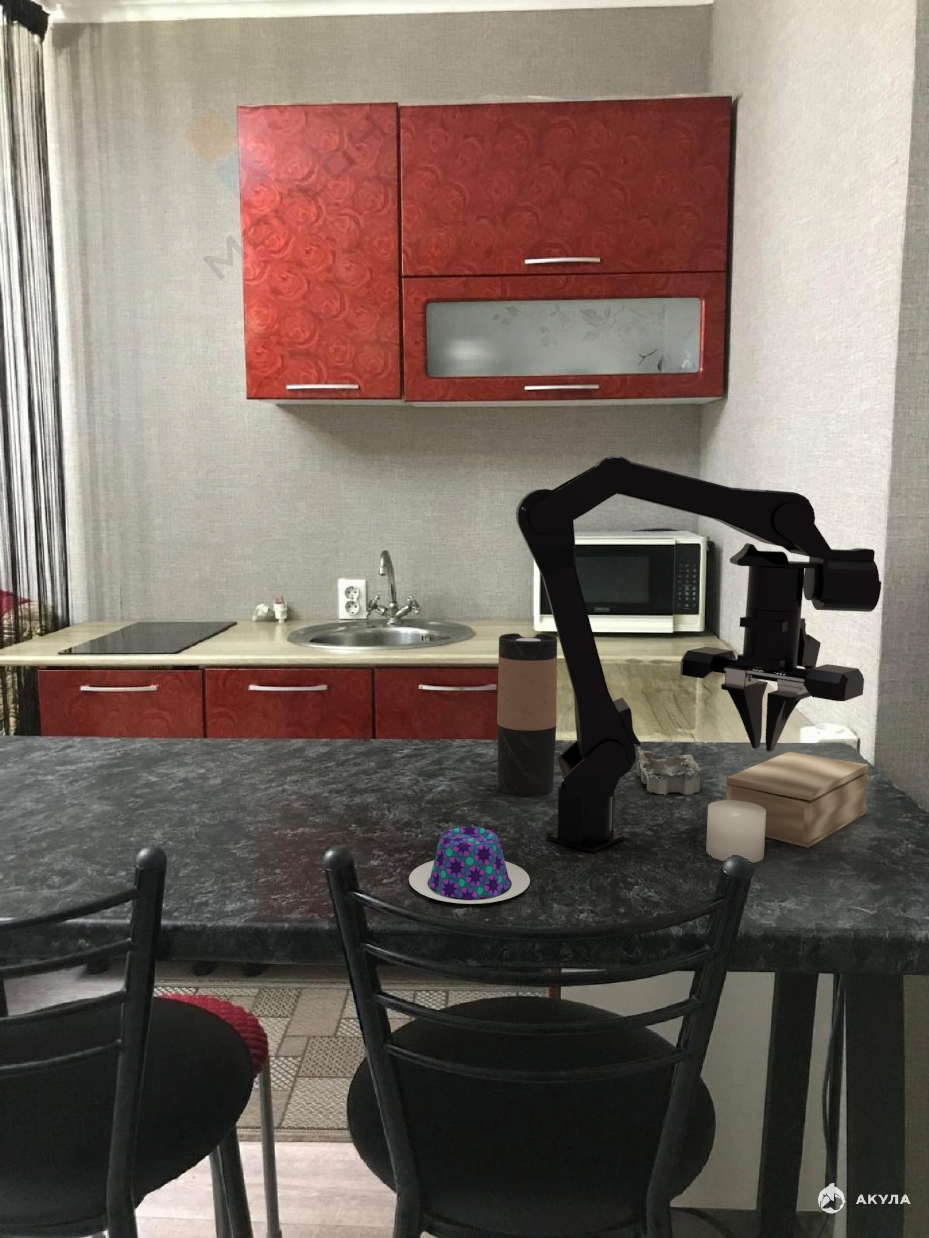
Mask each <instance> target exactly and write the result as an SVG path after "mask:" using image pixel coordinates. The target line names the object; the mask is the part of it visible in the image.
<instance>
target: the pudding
mask: <svg viewBox="0 0 929 1238" xmlns="http://www.w3.org/2000/svg"><path fill="white" fill-rule="evenodd" d="M435 852H436V853H435V857H434V860H430V861H428V862H425V863H423V864H421V865H419V866H417V867H416V868H414V869H413V870H412V871H411V872H410V875H409V877H408V882H409V885H410V886H411V887H412V888H413V889H414V890H415V891H417V893H419V894H420V895H423V896H426V897H427V898H431V899H434V900H437V901H442V902H447V903H454V904H468V905H469V904H470V905H472V904H473V905H474V904H475V905H477V904H490V903H495V902H499V901H500V902H501V901H505V900H508V899H511V898H514V897H516V896H518V895H520V894H522V893H523V892H525V891H526V889H528V887H529V886H530V883H531V882H530V881H531V879H530V876H529V874H528V873H527V871H525V870H524V869H523V868H522V867H520V866H519V865H516V864H514V863H512V862H508V861H506V860H505V856H504V852H503V847H502V843H501V840H500V839H499V837H498V835H497V834H496V832H495V831H493V830H491V829H486V828H484V827H480V826H471V827H468V826H459V827H456V828H454V829H452V828H451V829H448V830H446V831H445V832H443V834H442V835H441V837H440V839H439V841H438V844H437V847H436V851H435ZM432 889H433V890H435V891H436V892H435V891H433V890H432ZM505 890H507V891H506V892H504V893H502V891H505ZM456 898H457V899H456ZM481 898H485V899H481Z"/></svg>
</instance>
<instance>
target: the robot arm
mask: <svg viewBox="0 0 929 1238" xmlns="http://www.w3.org/2000/svg"><path fill="white" fill-rule="evenodd" d="M615 495H620V496H624V497H627V498H630V499H634V500H640V501H643V502H647V503H650V504H655V505H658V506H661V507H666V508H670V509H674V510H677V511H681V512H686V513H689V514H693V515H697V516H700V517H704V518H708V519H712V520H714V521H717V522H718V523H721V524H723V525H726V526H727V527H729V528H730V529H733V530H735V531H737V532H739V533H741V534H744V535H745V536H747V537H750V538H752V539H754V540H756V541H758V542H760V543H763V544H767V545H773V546H777V547H782V548H783V549H784V550H786V551H787V552H788V553H790V554H795V555H800V556H805V557H809V558H808V559H809V560H808V561H796V560H793V561H792V560H789V557H788V555H787V553H786V552H784V551H781V550H780V551H779V550H777V551H776V550H775V551H774V550H773V551H772V550H759V549H757V548H756V546H755V544H753V543H748V542H746V543H745V544H744V545H743V547H742V548H741V549H740V550H739V551H738V552H737V553H735V554H734V555H732V556H731V557H730V558H729V563H731V564H733V565H735V566H739V567H748V577H747V591H746V604H745V616H741V617H739V628H744V629H743V630H744V633H743V647H742V653H741V654H737V658H736V655H735V653H734V651H733V650H730V649H725V648H718V647H711V646H702V647H698V648H693V649H688V650H686V652H685V653H683V655H682V657H681V659H680V668H679V669H680V671H679V673H680V676H684V677H689V678H690V677H691V678H696V679H697V678H698V679H701V680H702V679H706V678H707V677H708V676H710V675H711V673H718V674H724V683H721V684H720V689H721V690H724V691H727V693H728V694H729V696H730V698H731V701H732V702H733V704H734V706H735V708H736V711H737V712H738V714H739V717H740V720H741V722H742V725H743V727H744V730H745V732H746V735H747V737H748V740H749V743H750V745H751V748H752V749H755V750H757V749H759V748H760V747H761V743H762V742H761V740H762V736H763V735H762V731H763V699H764V696H765V692H766V689H767V686H768V682H774V683H777V684H776V685H777V689H776V690H774V691H771V692H768V693H767V698H766V699H767V700H766V716H765V717H766V718H765V719H766V720H765V721H766V722H765V738H764V739H765V747H766V748H765V749H766V752H768V753H770V752H773V751H774V750H775V748H776V745H777V744H778V742H779V740H780V738H781V735H782V733H783V731H784V729H785V726H786V724H787V722H788V720H789V718H790V716H791V714H792V713H793V712H794V710H795V708H796V706H797V705H798V704H799V703H800V702H801V701H802V700H804V699H807V698H809V697H812V698H816V699H820V700H821V699H822V700H827V701H828V700H829V701H835V702H847V701H849V700H852V699H855V698H857V697H860V696H863V695H864V689H865V688H864V685H865V678H864V675H863V673H862V672H861V670H860V669H859V668H857V667H850V666H844V665H843V666H842V665H835V664H828V663H826V664H823V665H819V666H817V662H818V658H819V654H820V649H821V644H822V643H821V642H820V641H819V640H818V639H816V638H815V637H813V636H812V635H810V634H808V633H807V632H806V627H807V624H806V618H804V617H802V609H803V608H802V606H803V596H804V598H805V600H806V601H810V602H811V604H812V607H813V608H814V609H815V610H816V611H829V612H830V611H832V612H833V611H837V612H838V611H839V612H862V613H870V612H873V611H874V610H875V609H876V607H877V605H878V603H879V600H880V596H881V590H882V581H881V580H880V574H879V568H878V566H877V563H876V561H875V554H876V553H875V552H876V551H875V549H871V548H865V547H863V548H861V547H856V548H851V549H839V548H838V549H837V548H836V549H835V548H832V547H831V546H830V545H829V544H828V542H827V540H826V539H825V537H824V535H822V533H821V532H820V530H819V528H818V527H817V525H816V524H815V522H816V516H815V515H816V514H815V509H814V507H813V506H812V503H811V501H810V500H809V499H808V498H807V497H806V496H805V495H802V494H800V493H798V492H793V491H784V490H782V491H781V490H771V489H756V488H741V487H730V486H726V485H722V484H718V483H715V482H710V481H707V480H704V479H699V478H696V477H692V476H688V475H684V474H679V473H675V472H673V471H669V470H665V469H661V468H658V467H653V466H650V465H646V464H642V463H638V462H634V461H632V460H631V461H630V460H629V459H627V458H625V457H623V456H622V455H609V456H607V457H603V458H602V459H600V460H599V461H598V462H596V464H595V465H593V466H592V467H590V468H588V469H587V470H585V471H583V472H581V473H579V474H578V475H575V476H574V477H572V478H570V479H569V480H567V481H565V482H564V483H562V484H559V485H558V486H556V487H555V488H553V489H548V488H539V489H534V490H531V491H530V492H527V493H526V494H525V495H524V496H523V497H521V499H520V501H519V502H518V504H517V507H516V511H515V518H516V524H517V526H518V528H519V532H520V533H521V535H522V538H523V540H524V541H525V544H526V546H527V548H528V550H529V552H530V554H531V557H532V558H533V560H534V563H535V564H536V566H537V569H538V571H539V573H540V575H541V577H542V581H543V585H544V588H545V591H546V595H547V600H548V603H549V606H550V610H551V613H552V617H553V621H554V625H555V629H556V631H557V635H558V639H559V640H558V641H559V643H560V648H561V651H562V654H563V657H564V660H565V661H564V662H565V665H566V668H567V672H568V676H569V679H570V680H569V681H570V683H571V688H572V690H573V691H572V692H573V699H574V701H573V702H574V703H573V704H574V720H575V733H576V741H574V742H573V743H572V744H571V745H570V746H569V747H568V748H566V749H565V750H564V752H563V753H561V754H560V755H559V756H558V757H557V760H558V761H557V762H558V765H559V768H560V771H561V772H560V773H561V776H562V779H563V781H561V783H560V787H558V789H557V826H556V827H557V829H554V830H552V831H550V832H547V833H546V834H545V838H546V839H547V840H551V841H553V842H557V843H560V844H563V845H566V846H569V847H572V848H576V849H579V850H581V851H585V852H589V853H593V852H598V851H599V850H601V849H603V848H606V847H608V846H611V845H613V844H615V843H617V842H620V841H622V840H624V839H625V838H626V837H625V835H626V834H625V833H623V832H621V831H620V832H619V831H618V830H614V829H615V816H616V815H615V813H616V810H615V807H616V804H615V803H616V795H615V791H616V788H617V787H618V784H619V781H620V779H621V778H623V777H624V776H625V775H627V774H628V773H629V772H630V771H631V770H632V767H633V766H634V764H635V763H636V760H637V753H636V750H637V749H636V747H635V745H636V746H641V744H642V743H641V741H640V740H639V738H638V736H637V735H636V733H635V731H634V726H633V723H634V722H633V714H632V708H631V707H630V706H629V704H628V703H627V701H626V700H625V698H624V697H623V696H622V697H619V698H617V699H615V700H613V698H612V696H611V694H610V691H609V688H608V685H607V684H608V683H607V682H606V677H605V673H604V670H603V665H602V662H601V659H600V655H599V652H598V647H597V644H596V640H595V636H594V633H593V627H592V625H591V621H590V617H589V613H588V609H587V607H586V601H585V599H584V595H583V591H582V588H581V584H580V583H581V582H580V580H579V576H578V573H577V561H576V560H577V559H576V537H575V524H574V521H575V520H576V519H579V518H580V517H582V516H583V515H585V514H587V513H589V512H590V511H592V510H593V509H595V508H596V507H597V506H599V505H601V504H603V502H606V501H607V500H609V499H610V498H612V497H614V496H615ZM800 667H801V668H800Z"/></svg>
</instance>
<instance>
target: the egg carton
mask: <svg viewBox="0 0 929 1238" xmlns="http://www.w3.org/2000/svg"><path fill="white" fill-rule="evenodd" d="M636 750H637V751H638V760H637V761H636V772H637V773H636V775H637V774H638V776H641V777H640V778H641V780H640V781H641V783H642V782H643V783H644V785H645V784H647V785H646V791H647V790H648V791H649V792H648V791H647V792H648V793H653V792H654V794H657V795H658V794H664V796H666V795H667V794H669V793H678V792H679V794H682V795H687V796H693V794H695V793H700V788H701V787H700V779H701V776H700V775H701V774H699V773H700V772H702V770H703V769H701V768H700V766H699V763H697V762H696V761H695V759H694V756H693V755H692V754H683V755H682V754H676V753H675V754H674V756H673V755H672V756H667V754H665V753H664V754H662V756H661V759H655V758H654V756H653V753H652V751H649V750H642V747H641V745H637V749H636ZM654 773H661V775H660V777H661V779H658V777H659V776H658V775H656V774H654ZM638 776H637V777H638ZM643 783H642V784H643Z"/></svg>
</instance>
